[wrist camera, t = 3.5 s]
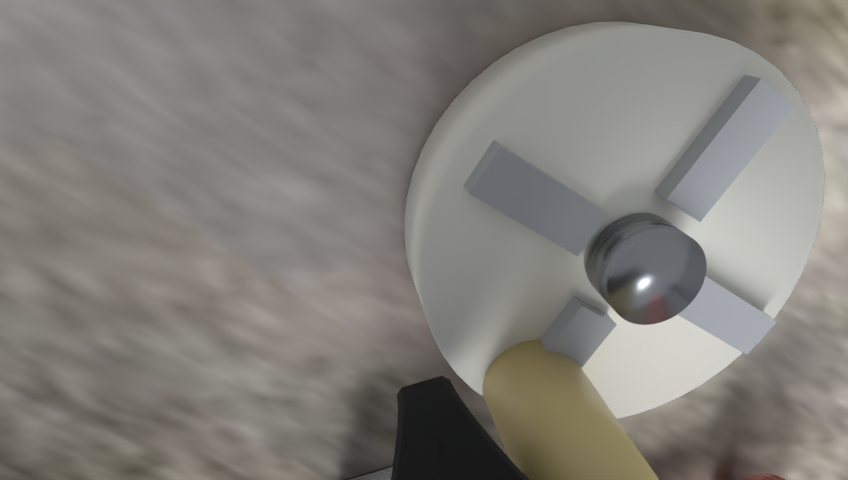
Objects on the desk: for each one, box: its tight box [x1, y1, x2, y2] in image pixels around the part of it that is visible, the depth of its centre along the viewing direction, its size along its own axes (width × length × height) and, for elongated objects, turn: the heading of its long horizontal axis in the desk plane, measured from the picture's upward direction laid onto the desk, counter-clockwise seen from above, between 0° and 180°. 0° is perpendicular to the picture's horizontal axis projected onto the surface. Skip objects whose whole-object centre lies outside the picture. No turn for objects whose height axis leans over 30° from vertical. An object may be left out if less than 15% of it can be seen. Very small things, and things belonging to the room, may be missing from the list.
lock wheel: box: [404, 21, 825, 480], centre depth 10 cm, size 8×8×6 cm
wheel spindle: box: [587, 213, 707, 325], centre depth 10 cm, size 2×2×1 cm
